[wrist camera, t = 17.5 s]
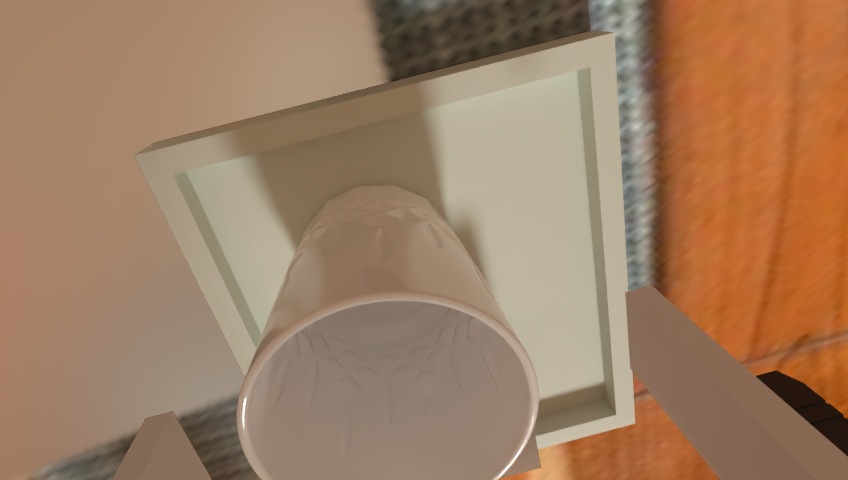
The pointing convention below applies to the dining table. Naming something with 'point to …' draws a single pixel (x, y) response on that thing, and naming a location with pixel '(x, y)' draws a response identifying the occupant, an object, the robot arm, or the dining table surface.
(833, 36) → the dining table surface
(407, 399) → the white cup
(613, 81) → the tray
